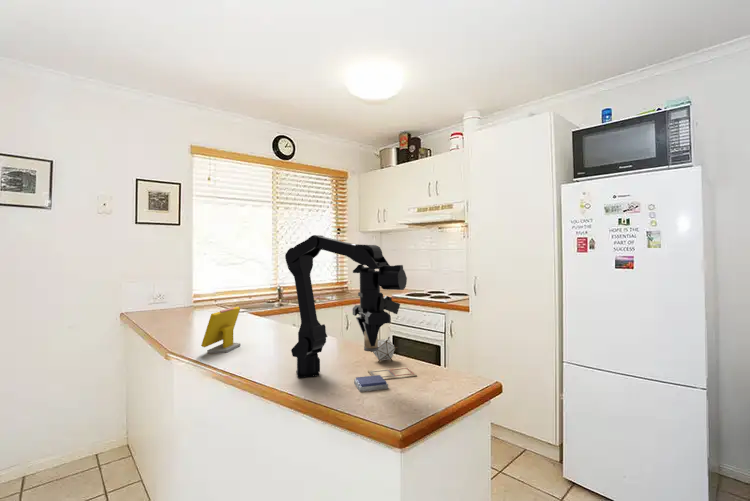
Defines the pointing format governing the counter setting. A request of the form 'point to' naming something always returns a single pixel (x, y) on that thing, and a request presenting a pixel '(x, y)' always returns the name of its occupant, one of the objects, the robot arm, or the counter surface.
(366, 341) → the stamp
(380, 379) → the ink pad
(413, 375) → the card sheet
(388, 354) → the game die
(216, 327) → the toy computer monitor
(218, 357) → the counter surface
